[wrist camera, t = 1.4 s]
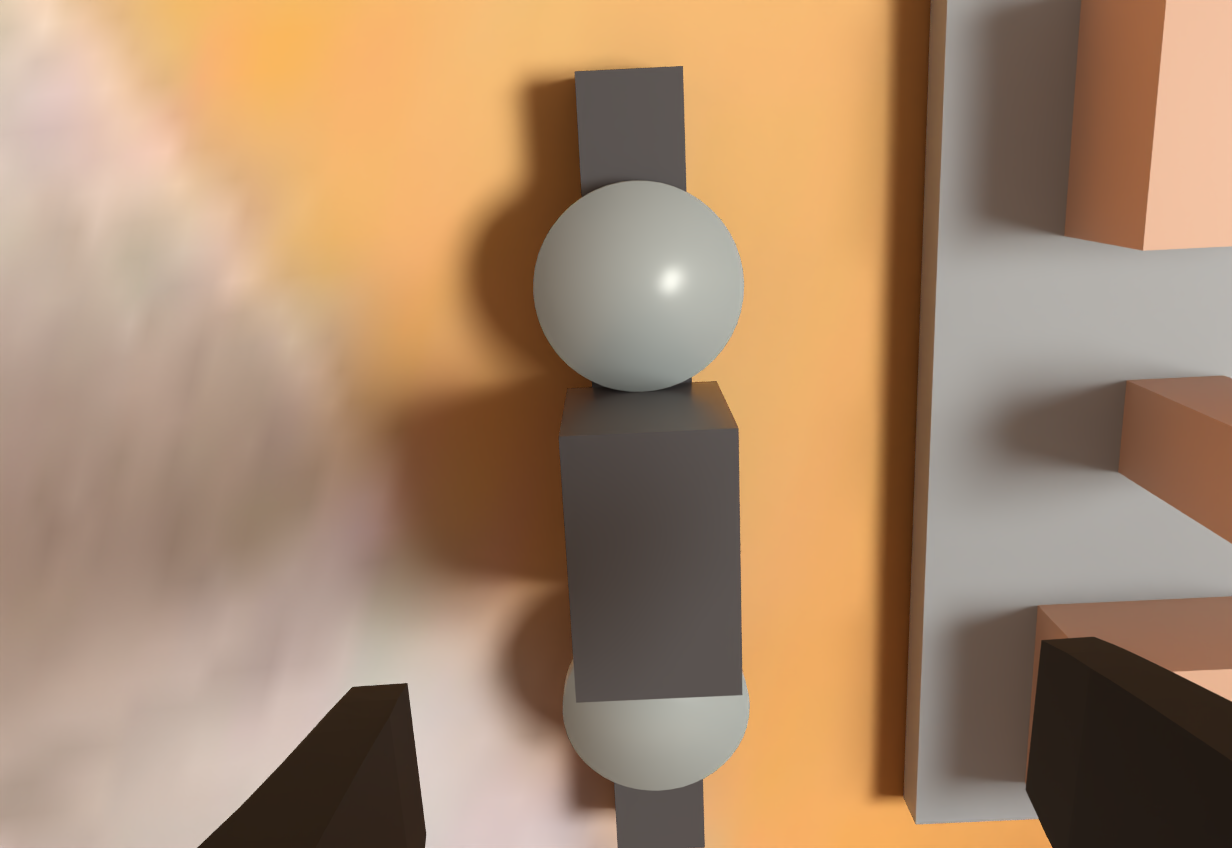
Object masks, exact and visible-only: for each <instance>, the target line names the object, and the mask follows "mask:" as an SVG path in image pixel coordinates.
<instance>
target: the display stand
mask: <svg viewBox="0 0 1232 848" xmlns="http://www.w3.org/2000/svg"><path fill="white" fill-rule="evenodd" d="M1080 637H1096V638H1099V639H1102V640H1104V641H1107V642H1109V643H1112V644H1114V645H1116V646H1119V647H1121V648H1123V649H1125V650H1128V651H1130V652H1132V653H1134V654H1136V655H1139V656H1141V657H1143V658H1145V659H1147V660H1149V661H1151V662H1153V663H1155V664H1157V665H1159V666H1161V667H1163V668H1165V669H1167V670H1170V671H1172V672H1174V673H1176V674H1178V675H1180V676H1182V677H1184V678H1186V679H1188V680H1190V681H1192V682H1194V683H1196V684H1198V685H1200V686H1202V687H1204V688H1206V689H1208V690H1210V691H1212V692H1214V693H1216V694H1218V695H1220V696H1222V697H1224V698H1226V699H1228V700H1230V701H1232V0H931V10H930V39H929V68H928V97H927V127H926V156H925V185H924V214H923V243H922V272H921V301H920V331H919V360H918V389H917V418H916V447H915V476H914V505H913V535H912V564H911V593H910V622H909V651H908V680H907V709H906V739H905V768H904V797H903V798H904V800H905V802H906V804H907V806H908V809H909V811H910V813H911V815H912V817H913V820H914V822H915V824H934V823H957V822H980V821H1002V820H1025V819H1039V818H1038V816H1037V814H1036V812H1035V810H1034V807H1033V805H1032V803H1031V801H1030V799H1029V797H1028V794H1027V792H1026V790H1025V789H1026V780H1027V770H1028V761H1029V752H1030V742H1031V733H1032V724H1033V714H1034V705H1035V696H1036V686H1037V677H1038V668H1039V658H1040V649H1041V640H1050V639H1065V638H1080Z"/></svg>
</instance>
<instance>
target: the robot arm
mask: <svg viewBox="0 0 1232 848" xmlns="http://www.w3.org/2000/svg"><path fill="white" fill-rule="evenodd" d="M1025 790H1026V792H1027V794H1028V797H1029V799H1030V801H1031V803H1032V805H1033V807H1034V810H1035V812H1036V814H1037V816H1038V818H1039V820H1040V823H1041V825H1042V827H1043V829H1044V831H1045V833H1046V835H1047V837H1048V839H1049V841H1050V843H1051V845H1052V847H1053V848H1232V701H1230V700H1228V699H1226V698H1224V697H1222V696H1220V695H1218V694H1216V693H1214V692H1212V691H1210V690H1208V689H1206V688H1204V687H1202V686H1200V685H1198V684H1196V683H1194V682H1192V681H1190V680H1188V679H1186V678H1184V677H1182V676H1180V675H1178V674H1176V673H1174V672H1172V671H1170V670H1167V669H1165V668H1163V667H1161V666H1159V665H1157V664H1155V663H1153V662H1151V661H1149V660H1147V659H1145V658H1143V657H1141V656H1139V655H1136V654H1134V653H1132V652H1130V651H1128V650H1125V649H1123V648H1121V647H1119V646H1116V645H1114V644H1112V643H1109V642H1107V641H1104V640H1102V639H1099V638H1096V637H1080V638H1065V639H1050V640H1041V649H1040V658H1039V668H1038V677H1037V686H1036V696H1035V705H1034V714H1033V724H1032V733H1031V742H1030V752H1029V761H1028V770H1027V780H1026V789H1025ZM425 841H426V829H425V821H424V813H423V805H422V797H421V789H420V781H419V773H418V765H417V757H416V749H415V741H414V733H413V725H412V717H411V708H410V700H409V692H408V684H407V683H403V684H389V685H374V686H359V687H352V688H351V689H350V690H349V691H348V692H347V693H346V694H345V695H344V696H343V697H342V699H341V700H340V701H339V702H338V703H337V704H336V705H335V706H334V707H333V708H332V709H331V710H330V711H329V712H328V713H327V714H326V716H325V717H324V718H323V719H322V720H321V721H320V722H319V723H318V724H317V725H316V727H315V728H314V729H313V730H312V731H311V732H310V733H309V734H308V735H307V737H306V738H305V739H304V740H303V741H302V742H301V743H300V744H299V745H298V746H297V747H296V749H295V750H294V751H293V752H292V753H291V754H290V755H289V756H288V757H287V758H286V759H285V761H284V762H283V763H282V764H281V765H280V766H279V767H278V768H277V769H276V770H275V771H274V772H273V773H272V774H271V775H270V776H269V777H268V778H267V779H266V781H265V782H264V783H263V784H262V785H261V786H260V787H259V788H258V789H257V790H256V791H255V792H254V793H253V794H252V795H251V796H250V797H249V798H248V799H247V800H246V801H245V802H244V804H243V805H242V806H241V807H240V808H239V809H238V810H236V811H235V812H234V813H233V814H232V815H231V816H230V817H229V818H228V819H227V820H226V821H225V822H224V823H223V824H222V825H221V826H220V827H219V828H218V829H216V830H215V831H214V832H213V833H212V834H211V835H210V836H209V837H208V838H207V839H206V840H205V841H204V842H203V843H202V844H201V845H200V846H199V847H198V848H425Z"/></svg>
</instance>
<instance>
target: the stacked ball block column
mask: <svg viewBox="0 0 1232 848" xmlns="http://www.w3.org/2000/svg"><path fill="white" fill-rule="evenodd" d="M575 85H576V104H577V122H578V140H579V158H580V176H581V194H582V197H581V198H580V199H579V200H577V201H576V202H575V203H573V204H572V205H571V206H570V207H569V208H568V209H567V210H566V211H565V212H564V213H563V214H562V215H561V216H560V217H559V218H558V220H557V221H556V222H555V224H554V225H553V226H552V228H551V229H550V231H549V233H548V234H547V236H546V238H545V240H544V242H543V244H542V246H541V249H540V251H539V254H538V258H537V262H536V265H535V272H534V279H533V295H534V302H535V309H536V313H537V316H538V320H539V323H540V325H541V328H542V330H543V332H544V335H545V336H546V338H547V340H548V341H549V343H550V345H551V346H552V348H553V349H554V350H555V352H556V353H557V354H558V355H559V357H560V358H561V359H562V360H563V361H564V362H565V363H566V364H567V365H568V366H570V367H571V368H572V369H573V370H575V371H576V372H577V373H579V374H580V375H582V376H584V377H585V378H587V379H589V380H590V381H592V387H586V388H567V393H566V399H565V404H564V410H563V415H562V421H561V426H560V432H559V450H560V465H561V480H562V495H563V511H564V526H565V541H566V556H567V572H568V587H569V602H570V617H571V632H572V648H573V660H572V662H571V664H570V666H569V669H568V672H567V675H566V679H565V686H564V695H563V719H564V725H565V729H566V732H567V735H568V738H569V740H570V742H571V744H572V746H573V747H574V749H575V750H576V752H577V754H578V755H579V756H580V757H581V758H582V760H583V761H584V762H585V763H586V764H587V765H588V766H589V767H591V768H592V769H593V770H594V771H595V772H597V773H598V774H600V775H601V776H603V777H605V778H606V779H608V780H610V781H612V782H614V788H615V806H616V824H617V842H618V848H704V847H705V841H704V806H703V779H704V778H705V777H707V776H709V775H710V774H712V773H713V772H715V771H716V770H717V769H718V768H720V767H721V766H722V765H723V764H724V763H725V762H726V761H727V760H728V759H729V758H730V757H731V756H732V754H733V753H734V752H735V750H736V749H737V747H738V746H739V744H740V742H741V740H742V738H743V736H744V733H745V730H746V728H747V723H748V718H749V707H750V705H749V694H748V690H747V686H746V682H745V678H744V674H743V670H742V632H741V567H740V502H739V437H738V426H737V424H736V422H735V420H734V418H733V416H732V413H731V411H730V409H729V407H728V405H727V403H726V401H725V398H724V396H723V394H722V392H721V390H720V388H719V386H718V383H717V381H711V382H692V377H693V376H694V375H696V374H697V373H699V372H700V371H701V370H703V369H704V368H705V367H706V366H708V365H709V364H710V363H711V362H712V361H713V360H714V359H715V358H716V357H717V356H718V354H719V353H720V352H721V351H722V350H723V348H724V347H725V345H726V344H727V342H728V340H729V339H730V337H731V335H732V333H733V331H734V329H735V327H736V325H737V322H738V319H739V316H740V312H741V308H742V302H743V294H744V278H743V269H742V264H741V259H740V255H739V253H738V250H737V247H736V244H735V242H734V240H733V238H732V236H731V234H730V232H729V231H728V229H727V228H726V226H725V225H724V224H723V222H722V221H721V219H720V218H719V217H718V216H717V215H716V214H715V213H714V212H713V211H712V210H711V209H710V208H709V207H708V206H706V205H705V204H704V203H703V202H702V201H700V200H699V199H697V198H696V197H694V196H692V195H691V194H689V193H687V192H686V163H685V127H684V92H683V66H676V67H656V68H636V69H616V70H596V71H576V72H575Z"/></svg>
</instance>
